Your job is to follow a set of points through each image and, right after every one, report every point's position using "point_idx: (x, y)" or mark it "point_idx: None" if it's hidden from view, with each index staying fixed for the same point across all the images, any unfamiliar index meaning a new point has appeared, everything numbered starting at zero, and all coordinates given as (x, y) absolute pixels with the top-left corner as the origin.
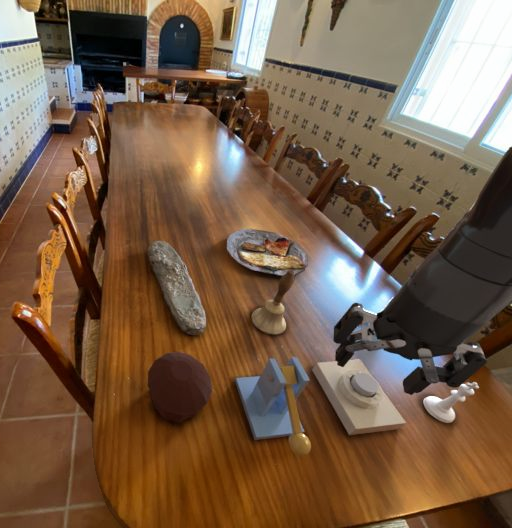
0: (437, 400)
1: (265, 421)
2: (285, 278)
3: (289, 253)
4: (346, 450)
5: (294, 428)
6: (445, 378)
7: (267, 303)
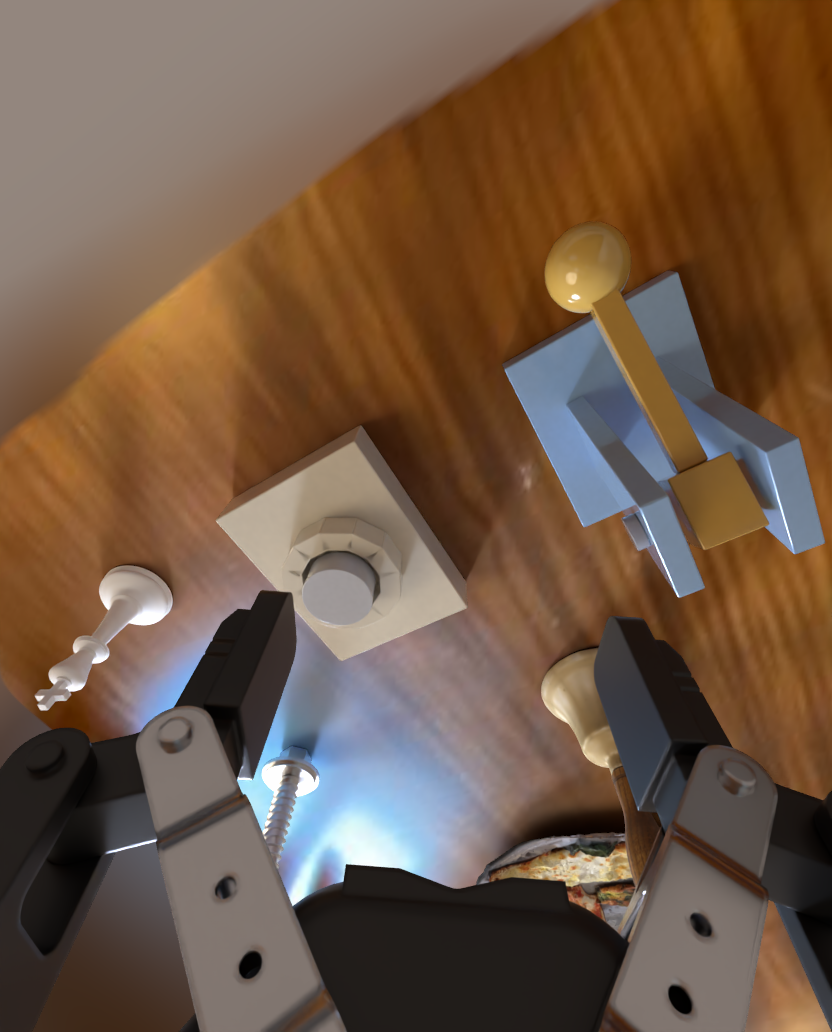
0: (140, 616)
1: None
2: None
3: None
4: (368, 373)
5: (627, 307)
6: (97, 781)
7: None
